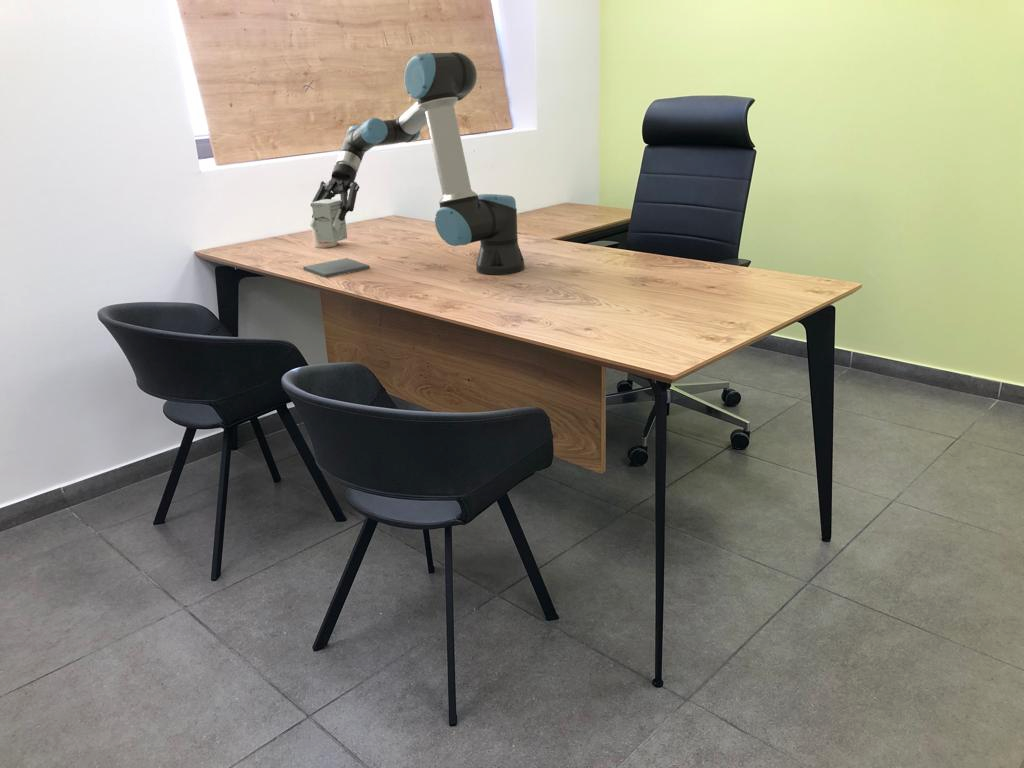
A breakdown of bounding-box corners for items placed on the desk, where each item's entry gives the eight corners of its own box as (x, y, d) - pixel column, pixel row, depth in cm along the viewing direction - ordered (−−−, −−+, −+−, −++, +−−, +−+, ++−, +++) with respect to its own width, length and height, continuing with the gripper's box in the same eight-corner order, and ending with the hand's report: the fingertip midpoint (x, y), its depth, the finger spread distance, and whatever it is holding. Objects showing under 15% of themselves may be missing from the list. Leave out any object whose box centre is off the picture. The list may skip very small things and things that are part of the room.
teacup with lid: (318, 249, 296) (313, 217, 292) (310, 245, 304) (306, 214, 300) (349, 244, 302) (345, 213, 298) (340, 240, 309) (337, 210, 305)
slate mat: (369, 268, 264) (369, 265, 264) (324, 277, 255) (324, 274, 255) (347, 260, 276) (346, 258, 276) (303, 269, 267) (303, 266, 267)
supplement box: (315, 241, 261) (310, 202, 256) (330, 237, 267) (325, 198, 262) (333, 243, 258) (328, 203, 253) (348, 238, 264) (343, 199, 259)
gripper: (377, 176, 265) (357, 235, 257) (325, 176, 273) (303, 233, 265) (367, 161, 258) (345, 222, 251) (314, 161, 266) (291, 220, 258)
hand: (324, 227), depth 258 cm, fingers closed on supplement box, 8 cm apart
